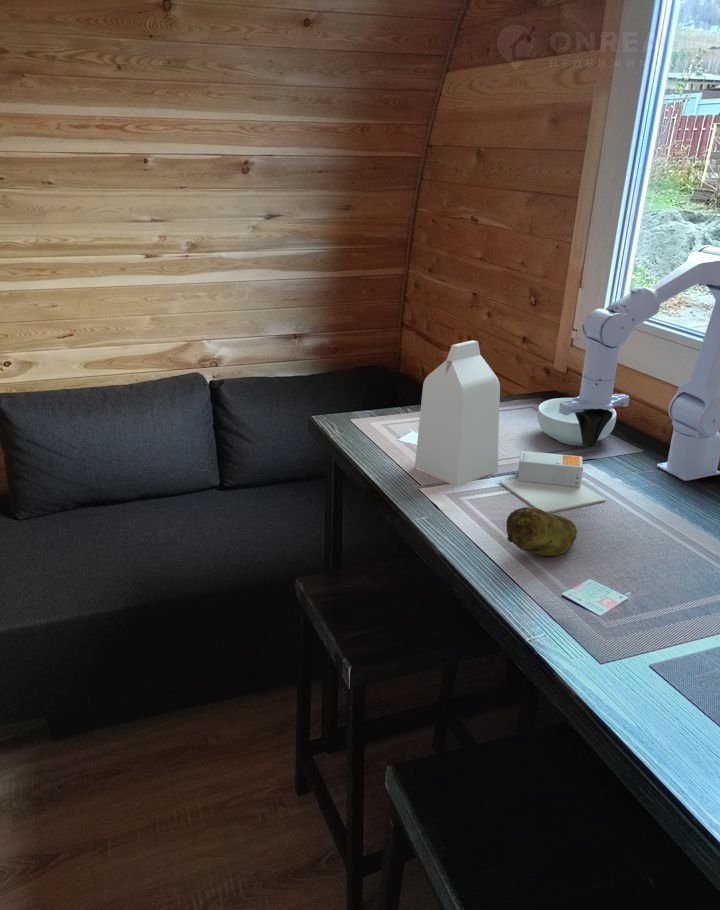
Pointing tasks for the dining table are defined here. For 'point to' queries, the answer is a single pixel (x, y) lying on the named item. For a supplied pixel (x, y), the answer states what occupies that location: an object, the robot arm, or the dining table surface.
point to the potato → (540, 531)
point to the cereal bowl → (566, 423)
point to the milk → (459, 418)
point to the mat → (552, 495)
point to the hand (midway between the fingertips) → (588, 445)
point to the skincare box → (550, 468)
